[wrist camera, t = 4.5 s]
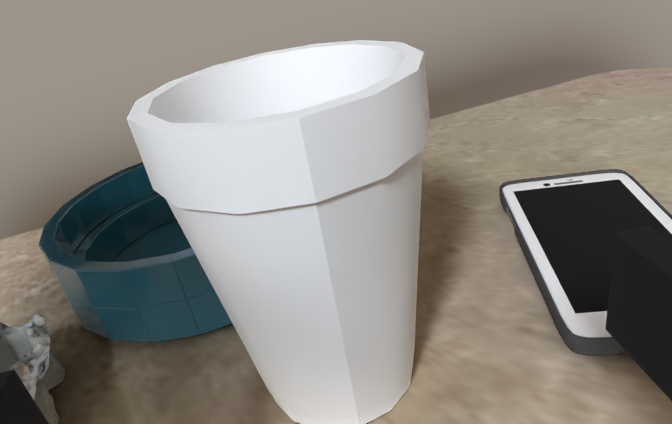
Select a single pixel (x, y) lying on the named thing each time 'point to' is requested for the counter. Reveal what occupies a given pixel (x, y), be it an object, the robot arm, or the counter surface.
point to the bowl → (129, 264)
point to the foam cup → (303, 212)
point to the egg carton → (32, 361)
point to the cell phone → (579, 244)
